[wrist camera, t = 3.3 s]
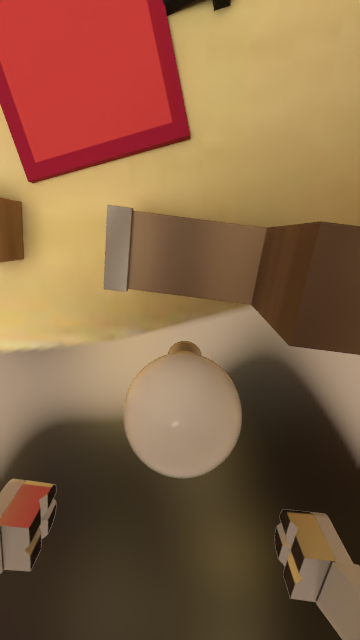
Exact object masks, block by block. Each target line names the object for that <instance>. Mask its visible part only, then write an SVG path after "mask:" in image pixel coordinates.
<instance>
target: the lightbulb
mask: <svg viewBox="0 0 360 640" xmlns="http://www.w3.org/2000/svg"><path fill="white" fill-rule="evenodd" d="M123 422H124V428H125V433H126V436H127V439H128V441H129V443H130V445H131V447H132V449H133V451H134V452H135V454H136V455H137V456H138V457H139V459H140V460H141V461H143V463H145V464H146V465H147V466H148V467H150V468H151V469H153V470H154V471H156V472H158V473H161V474H163V475H166V476H169V477H174V478H191V477H196V476H200V475H203V474H205V473H207V472H209V471H211V470H213V469H214V468H216V467H217V466H219V464H221V463H222V462H223V461H224V460H225V459H226V458H227V456H228V455H229V454H230V452H231V451H232V449H233V448H234V446H235V444H236V442H237V439H238V437H239V433H240V429H241V423H242V409H241V402H240V398H239V395H238V392H237V390H236V387H235V385H234V383H233V382H232V380H231V379H230V377H229V376H228V375H227V373H226V372H224V370H223V369H222V368H221V367H220V366H218V365H217V364H216V363H214V362H213V361H211V360H209V359H207V358H205V357H202V356H201V352H200V350H199V348H198V347H197V346H196V345H195V344H193V343H191V342H188V341H181V342H178V343H176V344H174V345H173V346H172V347H171V348H170V350H169V352H168V355H165V356H162V357H160V358H157V359H155V360H154V361H152V362H151V363H149V364H148V365H147V366H146V367H144V368H143V369H142V370H141V371H140V372H139V374H137V376H136V377H135V378H134V380H133V382H132V384H131V385H130V387H129V389H128V392H127V395H126V398H125V402H124V409H123Z"/></svg>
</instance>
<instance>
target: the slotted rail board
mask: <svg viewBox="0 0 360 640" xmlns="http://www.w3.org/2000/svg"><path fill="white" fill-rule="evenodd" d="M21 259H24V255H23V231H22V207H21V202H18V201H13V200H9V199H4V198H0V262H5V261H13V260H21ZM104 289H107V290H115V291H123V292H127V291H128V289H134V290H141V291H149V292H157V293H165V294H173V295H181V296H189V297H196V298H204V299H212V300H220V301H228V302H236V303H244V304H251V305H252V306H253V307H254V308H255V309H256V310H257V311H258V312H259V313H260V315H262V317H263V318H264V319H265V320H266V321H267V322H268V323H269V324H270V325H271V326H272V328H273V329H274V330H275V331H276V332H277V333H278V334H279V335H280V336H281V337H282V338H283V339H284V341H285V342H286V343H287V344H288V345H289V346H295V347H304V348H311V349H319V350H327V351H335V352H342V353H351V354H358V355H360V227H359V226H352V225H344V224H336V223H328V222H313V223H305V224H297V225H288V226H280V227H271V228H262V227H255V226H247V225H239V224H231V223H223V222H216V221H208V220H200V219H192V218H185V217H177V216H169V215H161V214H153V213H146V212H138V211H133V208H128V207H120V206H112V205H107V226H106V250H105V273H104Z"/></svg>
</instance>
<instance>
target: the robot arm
mask: <svg viewBox="0 0 360 640" xmlns="http://www.w3.org/2000/svg"><path fill="white" fill-rule="evenodd" d="M55 494H56V485H55V484H48V483H41V482H34V481H26V480H18V479H12V480H10V481H9V482H8V483H7V484H6V486H5V487H4V488H3V490H2V491H1V492H0V574H1V573H2V571H3V569H4V570H18V571H31V569H32V567H33V565H34V563H35V561H36V558H37V557H38V554H39V552H40V550H41V539H43V538H44V537H45V536H46V535H47V534H48V533H49V530H50V528H51V526H52V523H53V520H54V517H55V513H56V501H55V500H54V499H53V498H54V496H55ZM280 520H281V523H280V524H279V525H278V526H277V527H276V531H275V547H276V552H277V555H278V559H279V560H280V561H281V562H282V563H283V565H284V566H285V569H284V572H283V576H284V579H285V582H286V586H287V589H288V592H289V596H290V598H292V599H299V600H306V601H313V602H317V603H316V604H317V605H318V607H319V608H320V609H321V611H322V612H323V614H324V615H325V616H326V618H327V619H328V620H329V622H330V623H331V625H332V626H333V627H334V629H335V630H336V631H337V633H338V634H339V636H340V637H341V638H342V640H360V567H359V566H358V565H355V564H353V563H352V561H351V559H350V557H349V555H348V553H347V551H346V550H345V548H344V546H343V544H342V542H341V540H340V538H339V536H338V534H337V533H336V531H335V529H334V527H333V525H332V523H331V521H330V519H329V517H328V516H327V515H326V514H323V513H314V512H306V511H296V510H285V509H283V510H282V511H281V513H280Z"/></svg>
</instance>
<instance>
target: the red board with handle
mask: <svg viewBox="0 0 360 640" xmlns="http://www.w3.org/2000/svg"><path fill="white" fill-rule="evenodd" d="M193 1H195V0H0V104H1V107H2V110H3V113H4V115H5V118H6V121H7V124H8V127H9V129H10V132H11V135H12V138H13V140H14V143H15V146H16V149H17V152H18V154H19V157H20V160H21V163H22V165H23V168H24V171H25V174H26V177H27V179H28V182H32V183H35V182H38V181H42V180H45V179H49V178H53V177H56V176H60V175H63V174H67V173H70V172H74V171H78V170H81V169H85V168H88V167H92V166H95V165H99V164H103V163H106V162H110V161H113V160H117V159H120V158H124V157H128V156H131V155H135V154H138V153H142V152H145V151H149V150H152V149H156V148H160V147H163V146H167V145H170V144H174V143H177V142H181V141H185V140H188V139H190V132H189V127H188V121H187V116H186V111H185V106H184V101H183V96H182V91H181V86H180V80H179V75H178V70H177V65H176V60H175V55H174V50H173V45H172V39H171V34H170V29H169V24H168V19H167V16H168V15H170V14H172V13H174V12H176V11H177V10H179V9H181V8H183V7H184V6H186V5H188V4H190V3H192V2H193ZM230 2H231V0H213V6H214V11H215V10H218V9H221V8H224V7H227V6H230Z"/></svg>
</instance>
